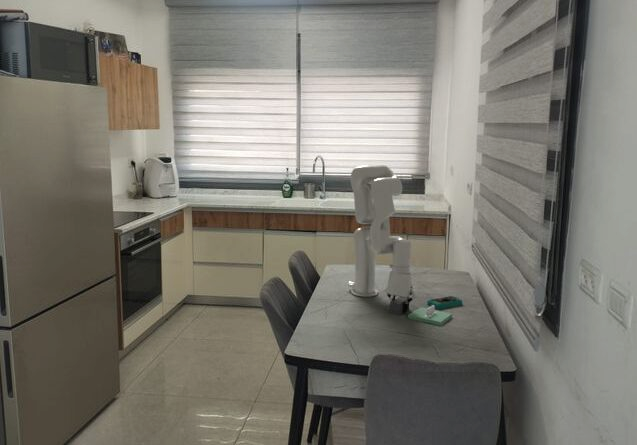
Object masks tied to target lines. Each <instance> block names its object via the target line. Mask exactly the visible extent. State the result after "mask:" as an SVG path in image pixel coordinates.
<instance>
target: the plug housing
mask: <svg viewBox="0 0 637 445" xmlns="http://www.w3.org/2000/svg"><path fill="white" fill-rule="evenodd" d="M404 303H405V300H404V297H399V296H398V297H396V298H395V300H393V301H390V303H389V314H393V315H397V316H400V315H402V314H403V313H404V312H403V309H404Z"/></svg>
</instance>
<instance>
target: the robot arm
mask: <svg viewBox="0 0 637 445" xmlns="http://www.w3.org/2000/svg"><path fill="white" fill-rule="evenodd" d="M350 185H351V188H352V192H353V197H354V199H353V200H354V213H355V215H354V216H355V220H356V222H357V223H358V224H360V225H361V224H362V225H369V224H370V226H362V227H359V228H357V229H355V231H354V232H353V244H354V252H355V254H354V256H355V258H354V281H351V280H350V281H348V284H347V286H348V287H351V288H352V289H351V291H350V293H351V295H354V296H357V297H364V298H368V297H375V296H377V295H378V294H379V290H378V289H376V260H377V258H376V255H379V256H383V255H386V256H387V255H392V264H389V268H390V269H391V270H389V275H388V280H387V281H388V282H387V287H386V288H385V289H384V290H383V292H384V293H385V294H386V295H387V297H388V298H389V301H390V302H391V301H393V300H395V299H396V298H397V297H398V298H399V297H404V300H405V303H404V309H403V312H404V313H405V314H406V313H408V312H409V310H410V303H411V302H412V301H413V300H415V299H416V298H417V294H416V293H415V291H414V282H413V274H412V272H411V261H412V259H411V258H412V242H411V241H409V240H407V239H404V238H402V237H401V236H398V235H395V236H394V235H393V236H391V227H390V226H391V225H390V217H392V216H393V215H394V214H395V212H396V209H395V204H394V200H393V197H398V196H400V195H401V194H402V193H403V184H402V181H401V179H400V178H399V177H398V175H397V174H396V173H394V171H393V170H392V169H391V168H390V167H388V166H387V165H384V164H376V165H375V164H374V165H371V164H369V165H359V166H355V167H354V168H353V170H352V171H351V173H350ZM368 185H370V187H369V186H368ZM410 296H411V297H410Z"/></svg>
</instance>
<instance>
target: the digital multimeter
mask: <svg viewBox="0 0 637 445" xmlns="http://www.w3.org/2000/svg"><path fill="white" fill-rule="evenodd" d="M432 305H434V306H435V310H442V309H447V308H451V307H459V306H462V305H463V300H462V299H461V298H460V297H459V298H458V297H457V296H454V295H450V296H444V297H439V298H434V299H429V300H427V306H428V307H431V306H432Z"/></svg>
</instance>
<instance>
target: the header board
mask: <svg viewBox="0 0 637 445" xmlns="http://www.w3.org/2000/svg"><path fill="white" fill-rule="evenodd" d="M407 316H408V317H407V318H408V319H409V320H414V321H418V322H423V323H427V324H432V325H436V326H442V325H443V324H445V323H446V322H448V321H449V320H450V319H452V318H453V314H452V313H451V312H450V313H449V312H445V311H441V310H437V309H435V306H434V305H432V306H428V308H426V307H419V308H417V309H416V310H414V311H412V312H411V313H409V314H408V315H407Z"/></svg>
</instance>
